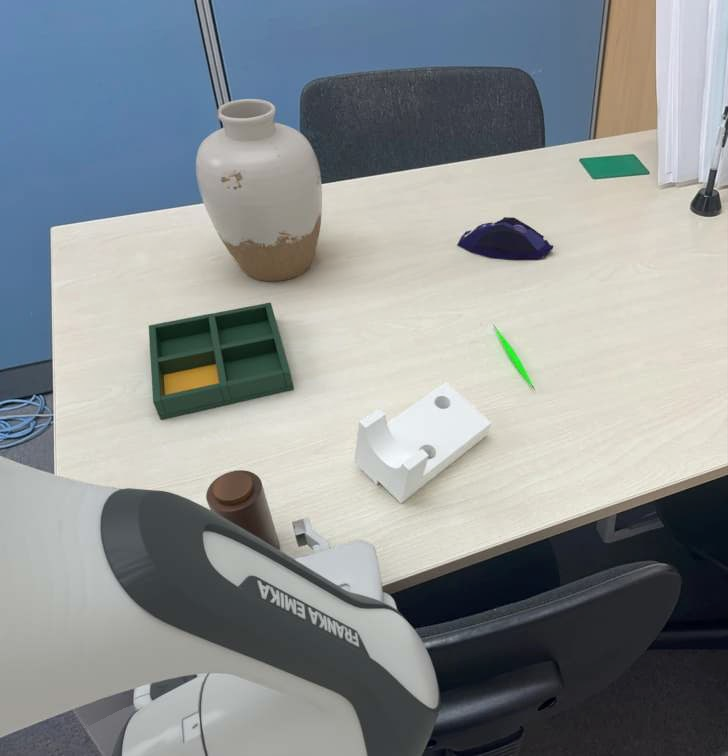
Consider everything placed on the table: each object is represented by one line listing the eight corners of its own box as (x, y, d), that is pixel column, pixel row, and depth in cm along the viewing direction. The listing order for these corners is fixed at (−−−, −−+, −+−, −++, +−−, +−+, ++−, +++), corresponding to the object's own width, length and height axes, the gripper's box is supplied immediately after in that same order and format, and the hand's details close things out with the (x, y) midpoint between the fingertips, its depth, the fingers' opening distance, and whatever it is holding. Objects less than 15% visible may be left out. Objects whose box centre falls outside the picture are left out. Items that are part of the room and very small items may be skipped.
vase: (212, 249, 107) (170, 95, 92) (315, 228, 112) (292, 80, 97) (234, 305, 96) (190, 142, 81) (347, 278, 102) (326, 121, 87)
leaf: (531, 393, 85) (531, 388, 84) (489, 326, 94) (489, 321, 94) (538, 392, 85) (538, 386, 84) (495, 325, 95) (496, 320, 94)
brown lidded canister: (232, 579, 65) (206, 513, 58) (226, 540, 68) (201, 473, 62) (283, 563, 66) (264, 497, 60) (276, 526, 69) (256, 459, 63)
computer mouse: (470, 222, 115) (470, 200, 113) (559, 238, 113) (562, 215, 110) (452, 251, 109) (451, 227, 106) (546, 268, 106) (548, 244, 103)
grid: (160, 420, 80) (152, 401, 78) (154, 342, 90) (148, 325, 88) (294, 389, 84) (290, 371, 82) (274, 319, 94) (270, 302, 92)
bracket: (399, 508, 73) (409, 470, 67) (354, 462, 75) (359, 421, 69) (484, 440, 80) (499, 401, 74) (441, 400, 82) (452, 359, 76)
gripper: (404, 615, 54) (360, 483, 63) (108, 715, 47) (109, 552, 57) (408, 656, 58) (367, 526, 67) (136, 753, 52) (133, 595, 61)
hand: (246, 539), depth 62 cm, fingers open, 8 cm apart
